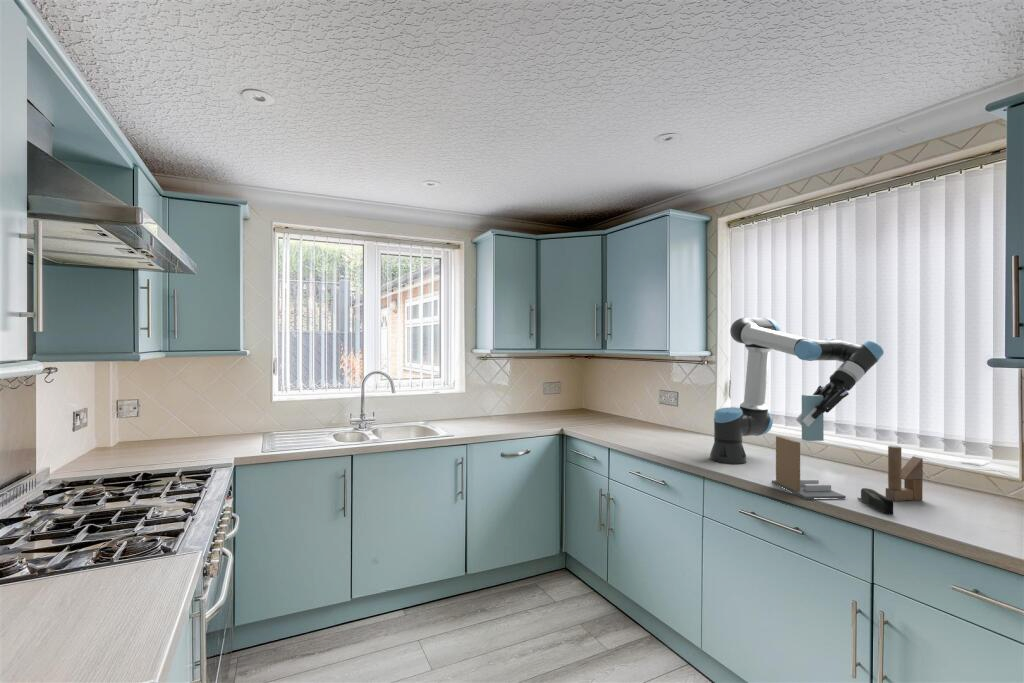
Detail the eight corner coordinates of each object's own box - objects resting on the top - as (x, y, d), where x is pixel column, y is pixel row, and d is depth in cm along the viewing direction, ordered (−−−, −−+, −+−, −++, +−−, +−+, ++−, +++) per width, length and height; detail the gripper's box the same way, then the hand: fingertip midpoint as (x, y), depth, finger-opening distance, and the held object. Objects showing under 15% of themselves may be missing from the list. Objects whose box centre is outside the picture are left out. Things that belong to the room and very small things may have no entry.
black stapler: (895, 500, 152) (864, 485, 167) (885, 499, 152) (855, 484, 167) (895, 516, 152) (864, 499, 167) (885, 515, 152) (854, 499, 167)
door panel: (801, 439, 178) (801, 394, 178) (817, 439, 178) (817, 394, 179) (807, 440, 175) (807, 395, 175) (823, 440, 176) (823, 395, 176)
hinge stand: (771, 483, 187) (771, 435, 187) (807, 482, 187) (807, 435, 188) (805, 499, 167) (805, 446, 167) (845, 499, 167) (845, 445, 168)
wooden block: (923, 500, 166) (923, 447, 166) (894, 501, 165) (894, 447, 165) (912, 497, 170) (912, 444, 170) (884, 498, 169) (884, 445, 169)
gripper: (870, 385, 170) (824, 434, 169) (837, 382, 186) (795, 426, 185) (855, 370, 170) (809, 418, 169) (823, 368, 186) (781, 412, 185)
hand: (802, 422), depth 177 cm, fingers closed on door panel, 3 cm apart
